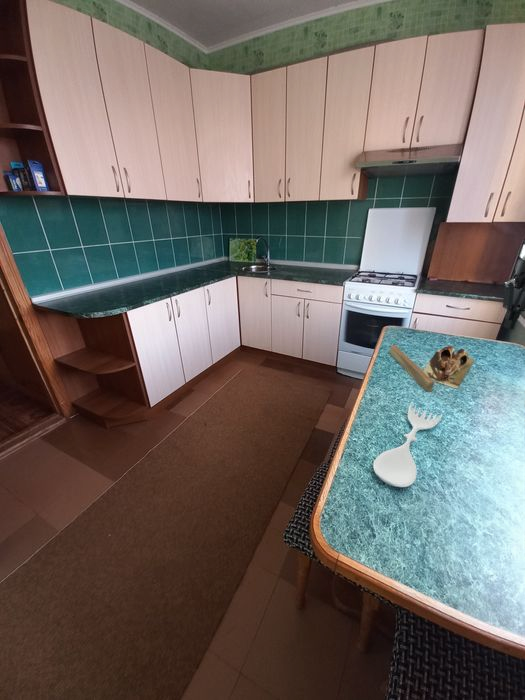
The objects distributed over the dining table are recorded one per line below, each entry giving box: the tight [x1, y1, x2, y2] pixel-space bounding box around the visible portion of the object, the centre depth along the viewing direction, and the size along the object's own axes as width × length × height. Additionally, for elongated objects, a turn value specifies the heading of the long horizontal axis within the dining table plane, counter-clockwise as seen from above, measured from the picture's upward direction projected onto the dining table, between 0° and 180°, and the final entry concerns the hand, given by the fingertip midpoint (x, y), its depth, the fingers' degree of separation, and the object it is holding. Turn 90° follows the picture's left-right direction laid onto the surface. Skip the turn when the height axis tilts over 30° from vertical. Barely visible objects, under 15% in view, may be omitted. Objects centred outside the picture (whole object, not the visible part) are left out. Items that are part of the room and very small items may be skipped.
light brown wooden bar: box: [389, 344, 435, 392], centre depth 108 cm, size 2×28×4 cm, turn 3°
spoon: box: [372, 402, 443, 488], centre depth 74 cm, size 9×32×4 cm, turn 139°
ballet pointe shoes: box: [422, 345, 475, 390], centre depth 109 cm, size 14×7×28 cm
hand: (508, 327), depth 103 cm, fingers closed
